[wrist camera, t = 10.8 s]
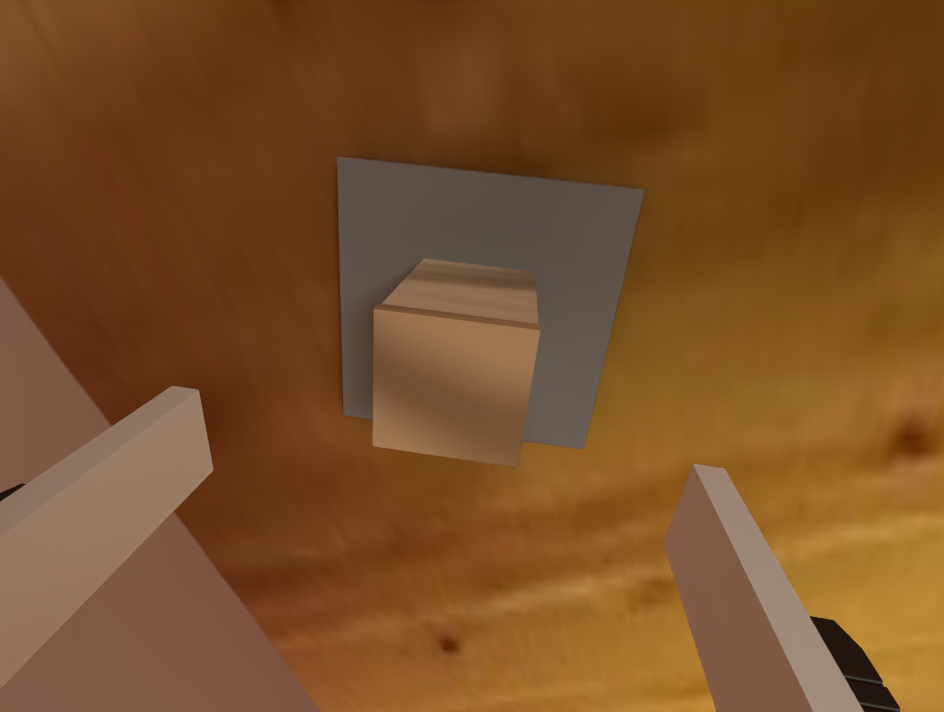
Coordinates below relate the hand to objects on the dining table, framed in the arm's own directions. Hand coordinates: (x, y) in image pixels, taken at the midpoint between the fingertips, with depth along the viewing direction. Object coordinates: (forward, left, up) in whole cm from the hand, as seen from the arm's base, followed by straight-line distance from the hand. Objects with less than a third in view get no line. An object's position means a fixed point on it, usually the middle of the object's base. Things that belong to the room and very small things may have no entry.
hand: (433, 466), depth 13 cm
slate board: (0, 0, -14) cm, 14 cm away
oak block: (0, 0, -13) cm, 12 cm away
